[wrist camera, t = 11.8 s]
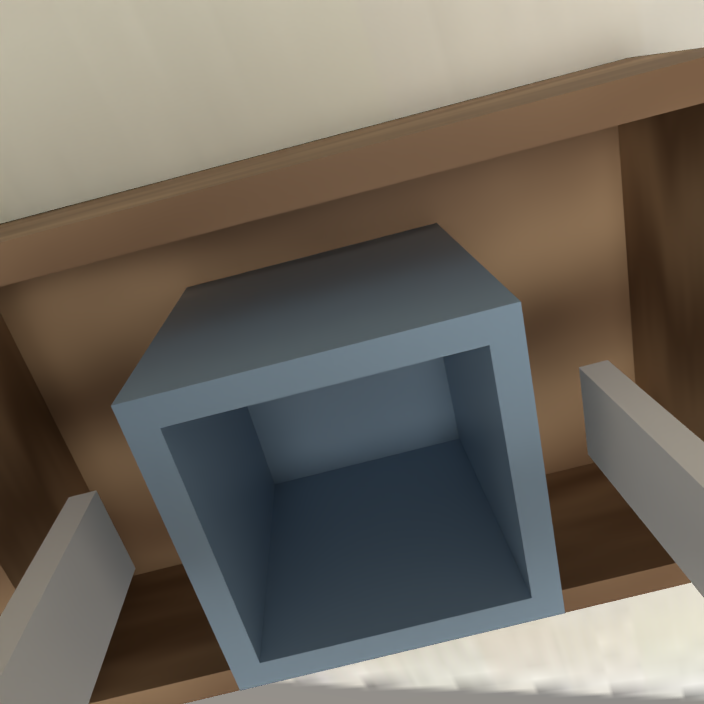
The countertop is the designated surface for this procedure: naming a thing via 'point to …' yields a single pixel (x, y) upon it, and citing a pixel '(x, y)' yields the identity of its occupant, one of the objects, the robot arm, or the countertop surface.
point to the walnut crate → (347, 229)
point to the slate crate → (348, 455)
